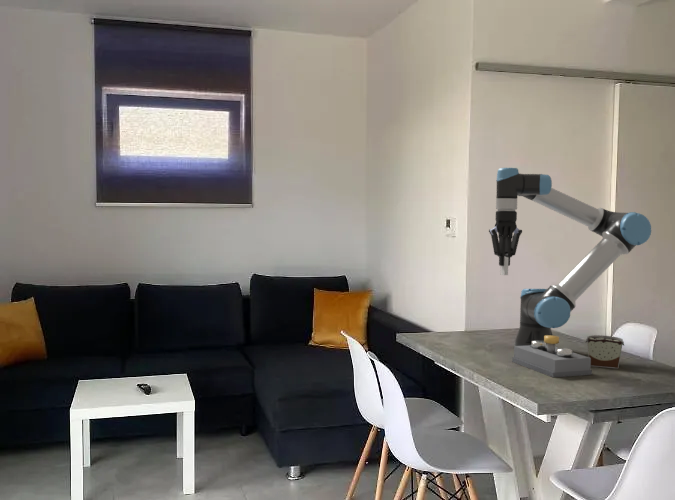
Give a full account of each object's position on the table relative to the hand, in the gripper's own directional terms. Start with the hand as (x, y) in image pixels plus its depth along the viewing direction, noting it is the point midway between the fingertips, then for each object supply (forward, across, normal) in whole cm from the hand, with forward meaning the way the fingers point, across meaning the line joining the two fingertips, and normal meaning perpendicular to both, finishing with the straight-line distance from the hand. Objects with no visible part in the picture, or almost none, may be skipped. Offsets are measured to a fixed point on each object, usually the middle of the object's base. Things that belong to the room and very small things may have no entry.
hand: (504, 274), depth 251 cm
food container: (+30, -25, +25) cm, 46 cm away
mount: (+29, -4, +24) cm, 38 cm away
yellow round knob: (+24, -4, +24) cm, 34 cm away
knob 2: (+27, -4, +31) cm, 41 cm away
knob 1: (+27, -4, +17) cm, 32 cm away
